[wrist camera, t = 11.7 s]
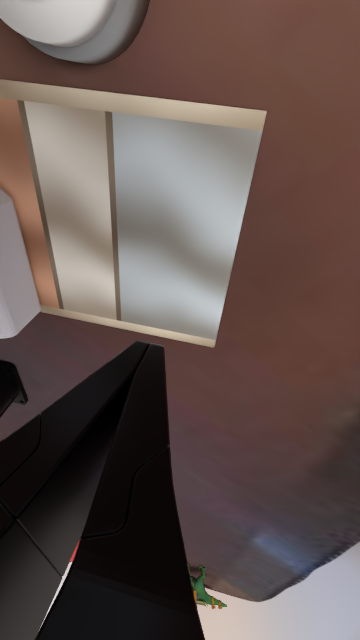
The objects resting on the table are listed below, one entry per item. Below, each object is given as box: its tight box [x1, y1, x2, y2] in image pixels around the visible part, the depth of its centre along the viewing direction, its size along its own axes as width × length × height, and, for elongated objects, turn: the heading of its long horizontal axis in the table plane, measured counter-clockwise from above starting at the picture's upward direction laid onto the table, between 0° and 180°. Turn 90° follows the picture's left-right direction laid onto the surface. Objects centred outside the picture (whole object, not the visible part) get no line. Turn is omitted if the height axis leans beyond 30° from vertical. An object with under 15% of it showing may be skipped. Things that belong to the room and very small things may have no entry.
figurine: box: [188, 564, 227, 609], centre depth 58 cm, size 3×12×8 cm, turn 87°
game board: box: [0, 0, 267, 347], centre depth 17 cm, size 23×29×2 cm
